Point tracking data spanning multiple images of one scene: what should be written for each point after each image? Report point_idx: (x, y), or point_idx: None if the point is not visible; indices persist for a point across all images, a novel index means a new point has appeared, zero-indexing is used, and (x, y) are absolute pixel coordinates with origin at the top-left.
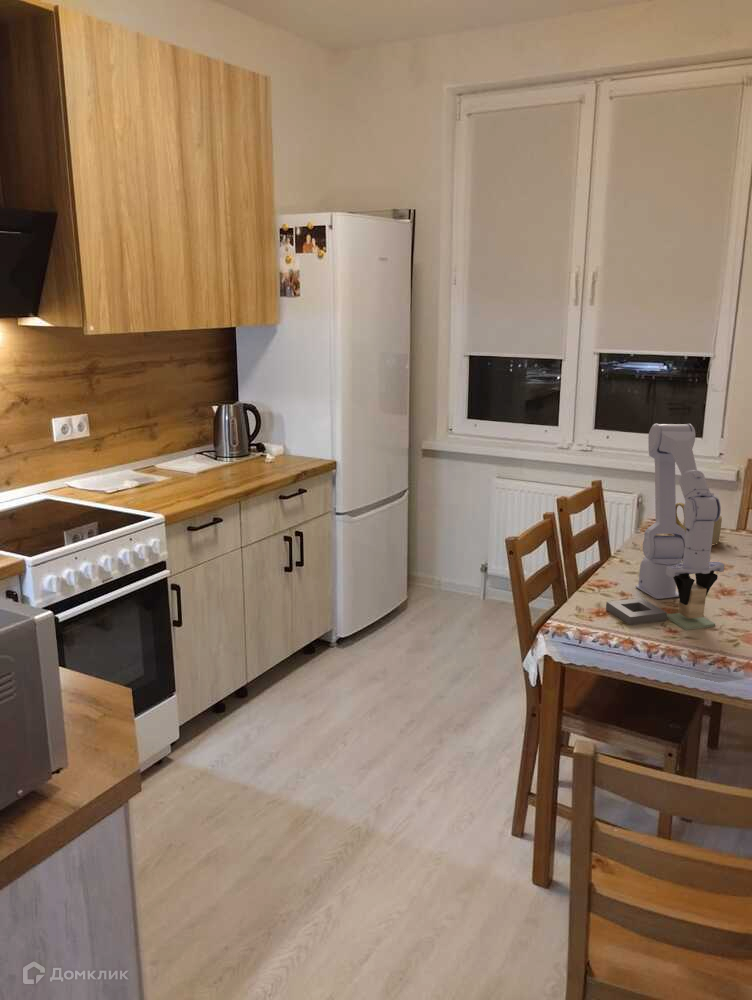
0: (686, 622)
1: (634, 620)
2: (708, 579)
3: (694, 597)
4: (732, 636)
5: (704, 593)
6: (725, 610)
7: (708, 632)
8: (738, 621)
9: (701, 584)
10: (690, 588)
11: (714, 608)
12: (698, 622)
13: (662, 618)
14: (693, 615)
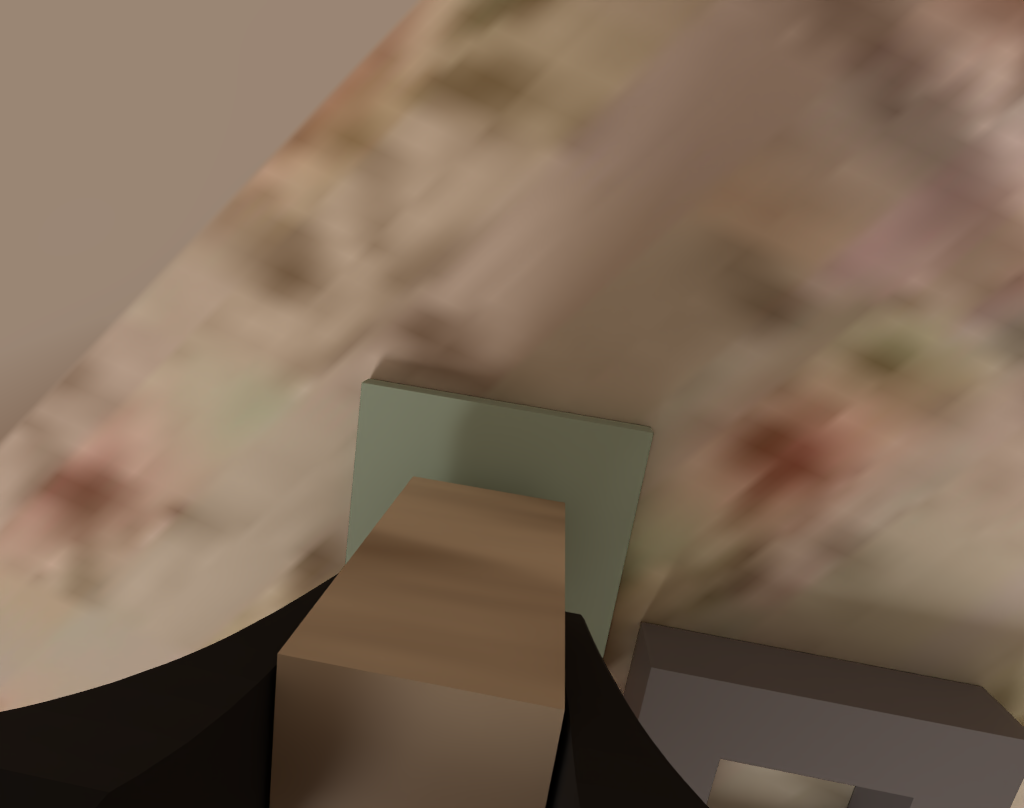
0: (566, 505)
1: (962, 704)
2: (147, 802)
3: (515, 617)
4: (398, 158)
5: (341, 613)
6: (75, 555)
7: (520, 310)
8: (126, 367)
9: (248, 791)
10: (592, 757)
11: (126, 614)
12: (474, 461)
13: (680, 642)
14: (518, 505)
